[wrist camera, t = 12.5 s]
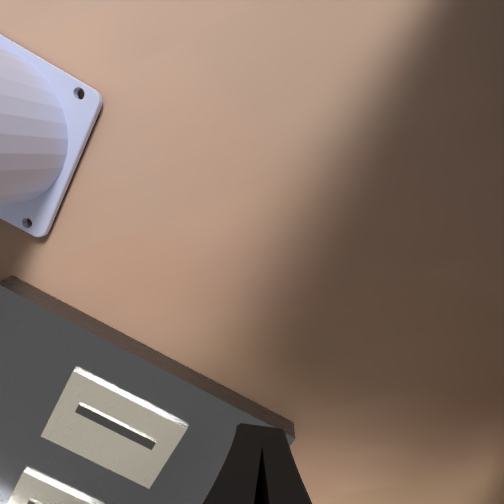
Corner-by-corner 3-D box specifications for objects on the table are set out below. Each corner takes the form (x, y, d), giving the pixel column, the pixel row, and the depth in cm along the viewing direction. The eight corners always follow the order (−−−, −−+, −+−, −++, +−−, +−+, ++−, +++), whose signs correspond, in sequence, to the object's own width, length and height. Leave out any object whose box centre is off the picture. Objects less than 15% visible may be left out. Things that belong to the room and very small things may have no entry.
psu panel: (-89, 523, 25) (-111, 546, 23) (12, 275, 20) (-9, 285, 18) (144, 627, 26) (136, 654, 25) (293, 422, 21) (295, 442, 20)
